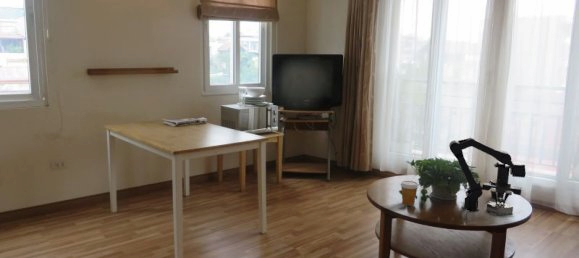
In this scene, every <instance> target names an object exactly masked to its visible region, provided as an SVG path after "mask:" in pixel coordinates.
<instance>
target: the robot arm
mask: <svg viewBox="0 0 579 258" xmlns="http://www.w3.org/2000/svg"><path fill="white" fill-rule="evenodd" d="M448 147H449V150H450V152H451V153H452V154H453V156H454V157H455V158H456V160H457V162H458V164H459V166H460V168H461V170H462V172H463V174H464V176H465V178H466V180H467V184H468V187H469V189H467V190H466V191H465V195H466V197H465V198H464V204H463V206H462V207H461V208H462V209H464V210H466V211H468V212H476V211H480V209H479V198H480V197H482V196H483V191H487V192H488V191H490V193H491V192H492V193H493V195H494V197H495V199H494V202H496V204H497V202H498V201H497V192H501V193H504V197H503V199H504V201H503V202H502V203H503V205H504V204H506V201H507V200H508V198H509V196H512V195H517V196H518V195H519V196H521V195H522V187H520V186H513V187H511V185H512V184H511V183H509V178H510V175H511V177H514V178H526V165H525V163H523V164H522V163H521V164H519V163H518V164H517V163H516V164H515V163H514V162H513V161H512V156H511V155H510V154H509V152H507V151H506V150H505V151H504V150H501V149H496V148H494V147H491V146H489V145H487V144H485V143H483V142H481V141H479V140H476V139H475V138H474V137H469V138H464V139H460V140H451V141H450V142H449V145H448ZM471 147H472V148H475V149H476V150H479V151H481V152H483V153H484V154H487V155H490V156H491V157H493V158H494V159H495V160H496V161H497V162H496V163H494V164H493V167H494V168H497V171H496V172H497V173H496V179H495V180H496V186H493V185H491V182H490V183H489V182H483V183H482V185H481V182H480V180H479V179H477V180H476V178H475V177H474V175H473V173H472V171H471V169H470V167H469V165H468V162H467V160H466V159H465V157H464V152H463V150H465V149H466V150H467V148H468V149H469V148H471ZM499 162H500V163H499Z"/></svg>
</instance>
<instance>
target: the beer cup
mask: <svg viewBox="0 0 579 258" xmlns="http://www.w3.org/2000/svg"><path fill="white" fill-rule="evenodd" d="M418 184H419V183H418V182H416V181H412V180H403V181H401V183H400V187H401V198H402V199H401V200H402V204H403V205H404V206H409V207H410V206H415V202H416V201H415V200H416V198H417V197H416V196H417V191H418V188H419V185H418Z"/></svg>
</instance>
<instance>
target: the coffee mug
mask: <svg viewBox="0 0 579 258" xmlns="http://www.w3.org/2000/svg"><path fill="white" fill-rule="evenodd" d="M496 180H497V179H491V180H489V181H488V183H491V185H493V186H496ZM490 194H491V195H490V196H491V199H493V200H495V197H494V195H493V193H492V192H491V191H490ZM504 197H505V193H501V192H497V198H503V199H504Z"/></svg>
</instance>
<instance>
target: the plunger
mask: <svg viewBox="0 0 579 258" xmlns="http://www.w3.org/2000/svg"><path fill="white" fill-rule="evenodd" d="M503 201H504V197H503V198H497V202H499V206H501V202H502V203H503Z"/></svg>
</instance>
